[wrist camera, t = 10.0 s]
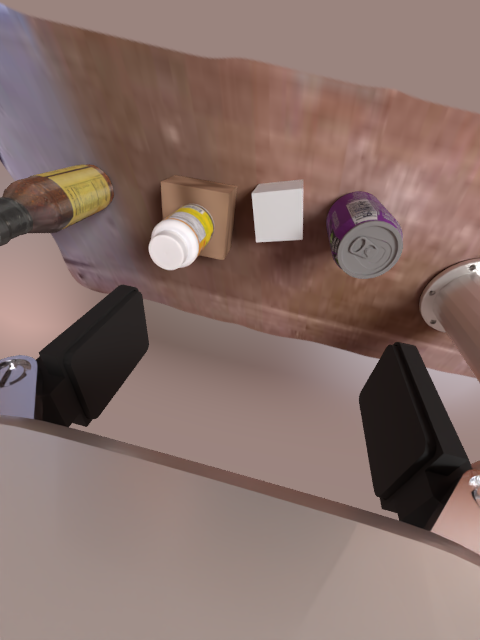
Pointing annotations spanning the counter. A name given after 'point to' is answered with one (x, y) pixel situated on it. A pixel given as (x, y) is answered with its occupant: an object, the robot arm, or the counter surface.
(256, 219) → the white cube
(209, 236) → the supplement bottle
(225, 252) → the brown square block
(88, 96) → the counter surface
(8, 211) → the sauce bottle
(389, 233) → the beverage can
